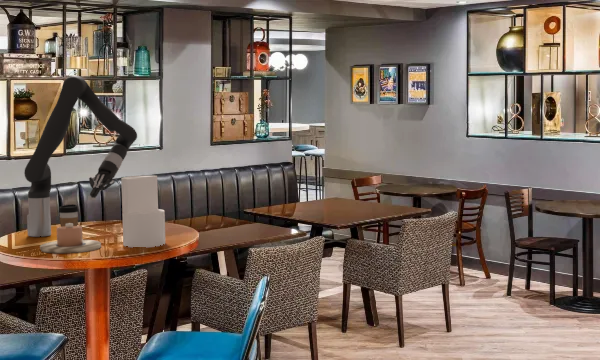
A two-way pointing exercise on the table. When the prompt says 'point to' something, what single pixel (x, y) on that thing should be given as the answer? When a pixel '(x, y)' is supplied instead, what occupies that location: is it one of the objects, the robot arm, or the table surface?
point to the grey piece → (142, 212)
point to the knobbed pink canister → (69, 235)
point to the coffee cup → (68, 215)
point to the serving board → (86, 246)
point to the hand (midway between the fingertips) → (92, 196)
